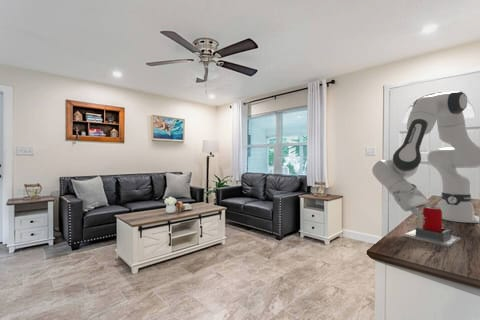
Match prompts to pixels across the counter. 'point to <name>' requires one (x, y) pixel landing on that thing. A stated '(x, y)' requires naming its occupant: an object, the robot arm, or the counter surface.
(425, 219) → the beverage can
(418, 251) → the counter surface
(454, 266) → the counter surface
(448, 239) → the grey socket base
